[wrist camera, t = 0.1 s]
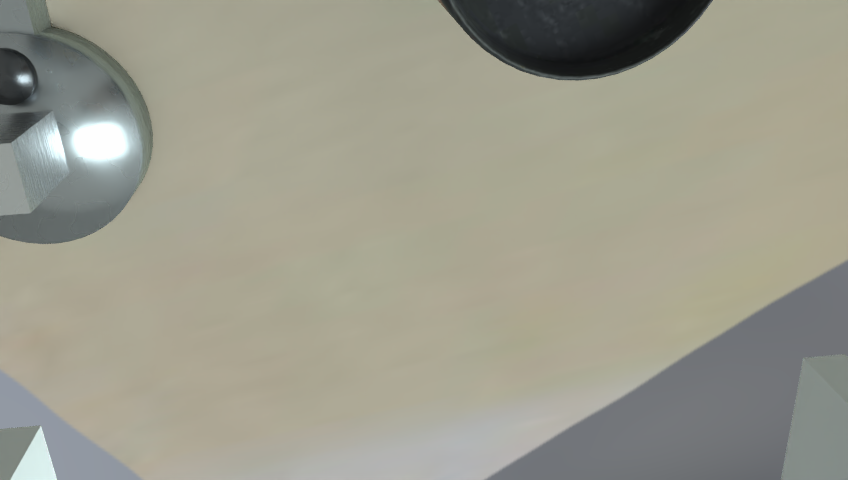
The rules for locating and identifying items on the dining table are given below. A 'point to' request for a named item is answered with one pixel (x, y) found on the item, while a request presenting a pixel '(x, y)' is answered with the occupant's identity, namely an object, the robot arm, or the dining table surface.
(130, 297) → the dining table surface
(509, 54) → the travel mug
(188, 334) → the dining table surface
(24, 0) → the ratchet
